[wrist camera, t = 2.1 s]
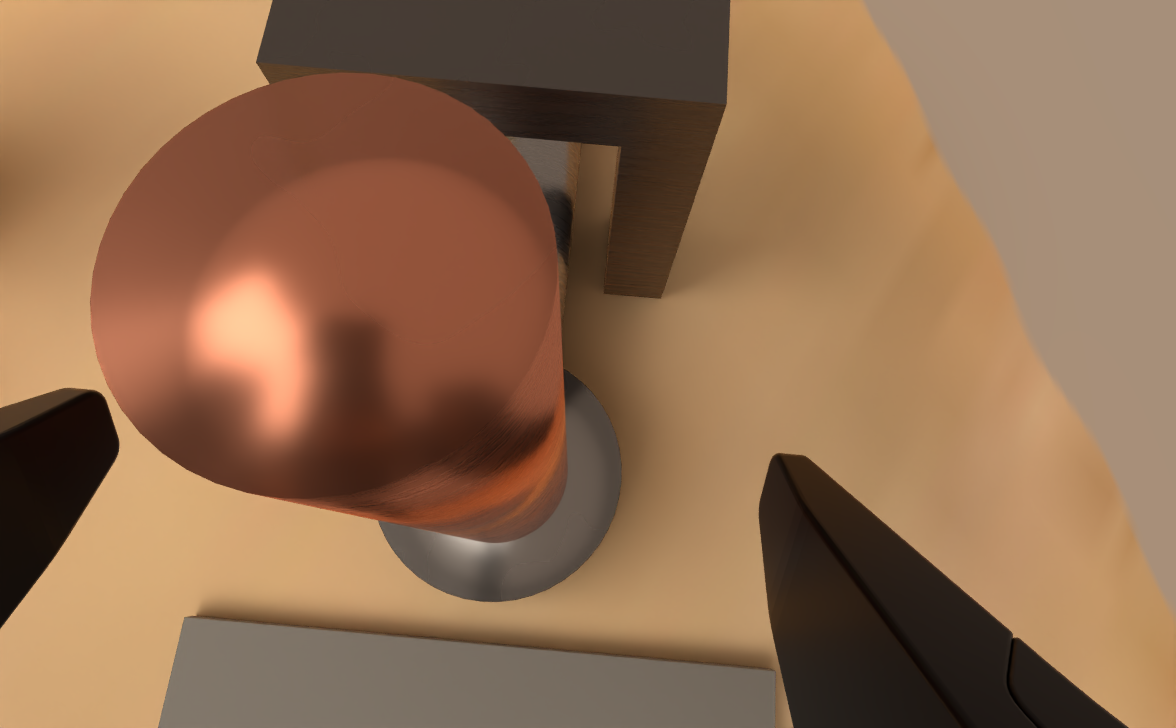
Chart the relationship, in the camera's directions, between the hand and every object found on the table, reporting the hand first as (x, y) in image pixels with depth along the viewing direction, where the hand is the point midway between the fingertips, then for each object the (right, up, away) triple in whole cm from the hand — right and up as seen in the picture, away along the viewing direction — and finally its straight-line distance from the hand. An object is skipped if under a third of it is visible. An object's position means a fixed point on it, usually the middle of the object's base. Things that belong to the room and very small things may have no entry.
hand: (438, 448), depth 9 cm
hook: (0, +3, +10) cm, 11 cm away
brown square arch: (0, +4, +10) cm, 11 cm away
